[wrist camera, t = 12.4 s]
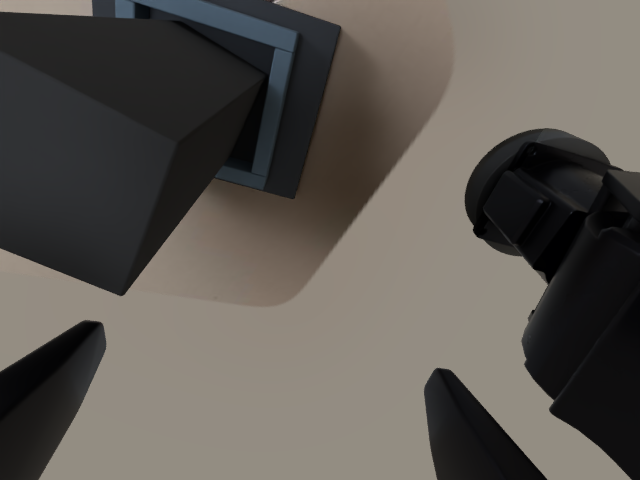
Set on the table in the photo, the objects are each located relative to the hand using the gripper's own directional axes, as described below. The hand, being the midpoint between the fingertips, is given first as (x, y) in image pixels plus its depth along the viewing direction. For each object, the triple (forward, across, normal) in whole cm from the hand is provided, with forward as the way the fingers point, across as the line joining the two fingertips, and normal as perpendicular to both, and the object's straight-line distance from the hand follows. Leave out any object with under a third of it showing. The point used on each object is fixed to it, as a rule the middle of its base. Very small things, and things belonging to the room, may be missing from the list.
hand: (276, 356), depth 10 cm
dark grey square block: (+12, +5, -4) cm, 14 cm away
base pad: (+13, +5, -4) cm, 15 cm away
